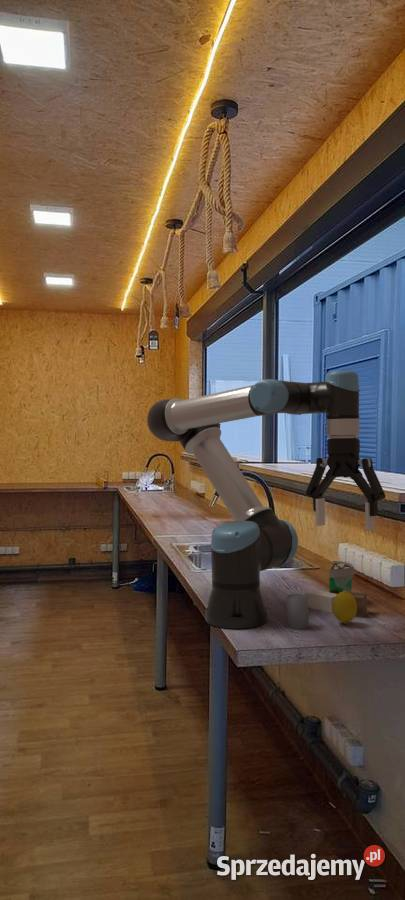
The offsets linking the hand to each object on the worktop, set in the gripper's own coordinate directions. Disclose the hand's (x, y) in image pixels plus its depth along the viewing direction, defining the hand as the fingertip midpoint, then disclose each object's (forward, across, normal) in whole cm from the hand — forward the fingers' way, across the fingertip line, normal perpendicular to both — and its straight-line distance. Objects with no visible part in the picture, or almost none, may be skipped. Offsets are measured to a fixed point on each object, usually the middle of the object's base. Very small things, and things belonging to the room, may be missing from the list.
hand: (344, 527), depth 149 cm
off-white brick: (+23, +12, -8) cm, 27 cm away
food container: (+23, +11, -16) cm, 30 cm away
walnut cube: (+23, +3, -9) cm, 25 cm away
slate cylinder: (+23, +7, +9) cm, 26 cm away
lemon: (+23, 0, 0) cm, 23 cm away
